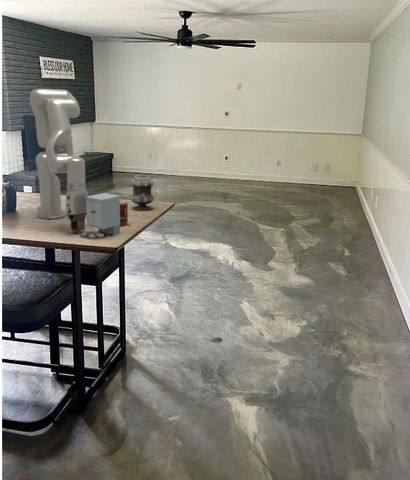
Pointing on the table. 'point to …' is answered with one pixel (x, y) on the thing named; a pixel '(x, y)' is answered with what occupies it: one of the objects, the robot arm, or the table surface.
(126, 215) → the canned food
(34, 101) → the robot arm
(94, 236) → the disc
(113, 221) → the cabinet
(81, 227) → the brown wooden block
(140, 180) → the apothecary jar
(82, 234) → the disc
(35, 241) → the table surface
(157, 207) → the table surface
